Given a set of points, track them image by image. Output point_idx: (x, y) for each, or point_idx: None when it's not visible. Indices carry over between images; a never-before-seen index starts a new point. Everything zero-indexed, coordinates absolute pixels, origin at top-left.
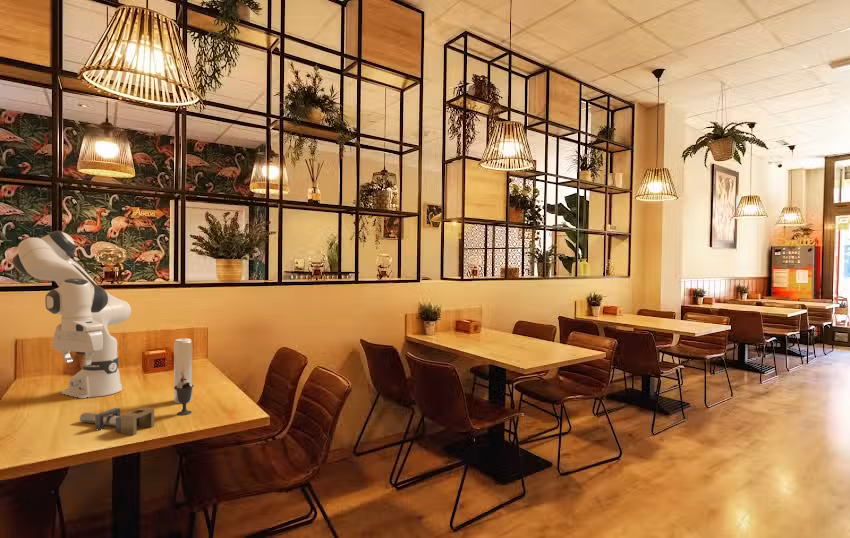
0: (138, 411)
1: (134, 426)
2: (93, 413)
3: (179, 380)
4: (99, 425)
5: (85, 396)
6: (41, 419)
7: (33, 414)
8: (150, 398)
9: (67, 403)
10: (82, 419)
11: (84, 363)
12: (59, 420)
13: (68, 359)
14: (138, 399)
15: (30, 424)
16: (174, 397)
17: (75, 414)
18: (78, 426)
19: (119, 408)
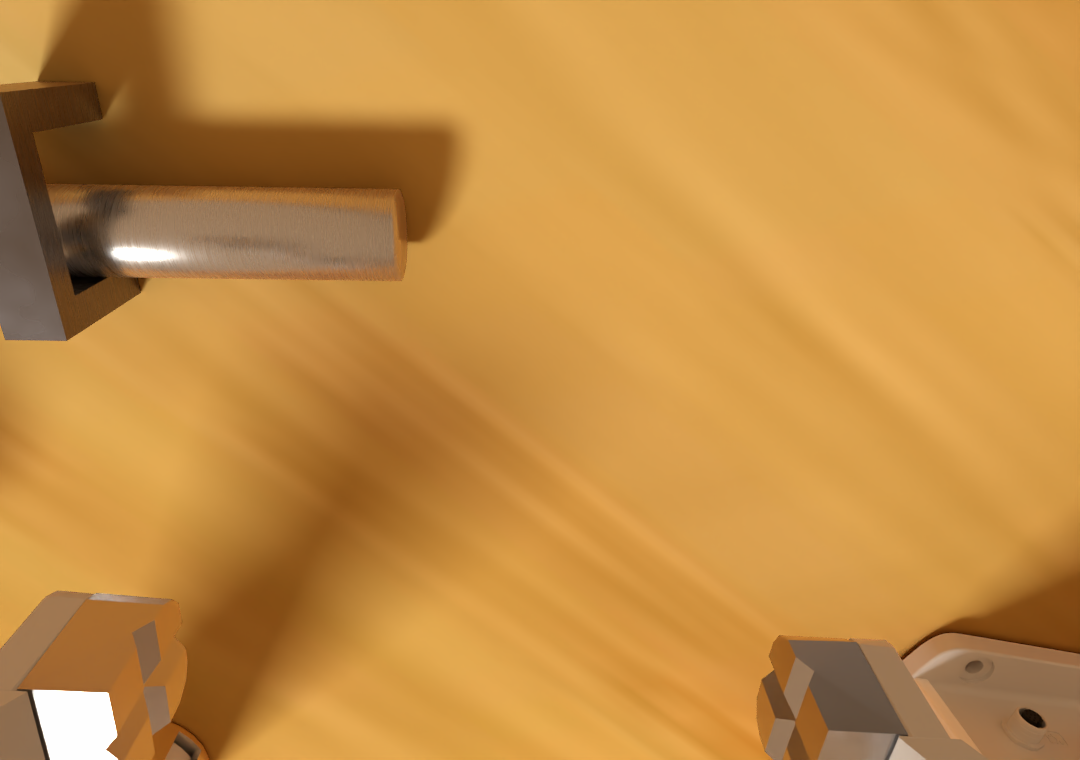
0: None
1: None
2: (285, 257)
3: None
4: (12, 84)
5: (925, 657)
6: (851, 171)
7: (1041, 256)
8: (428, 744)
9: (967, 532)
10: (363, 189)
11: (105, 613)
12: (661, 195)
13: (804, 724)
14: (493, 712)
15: (837, 29)
16: (159, 756)
17: (662, 351)
18: (337, 115)
19: (10, 337)
